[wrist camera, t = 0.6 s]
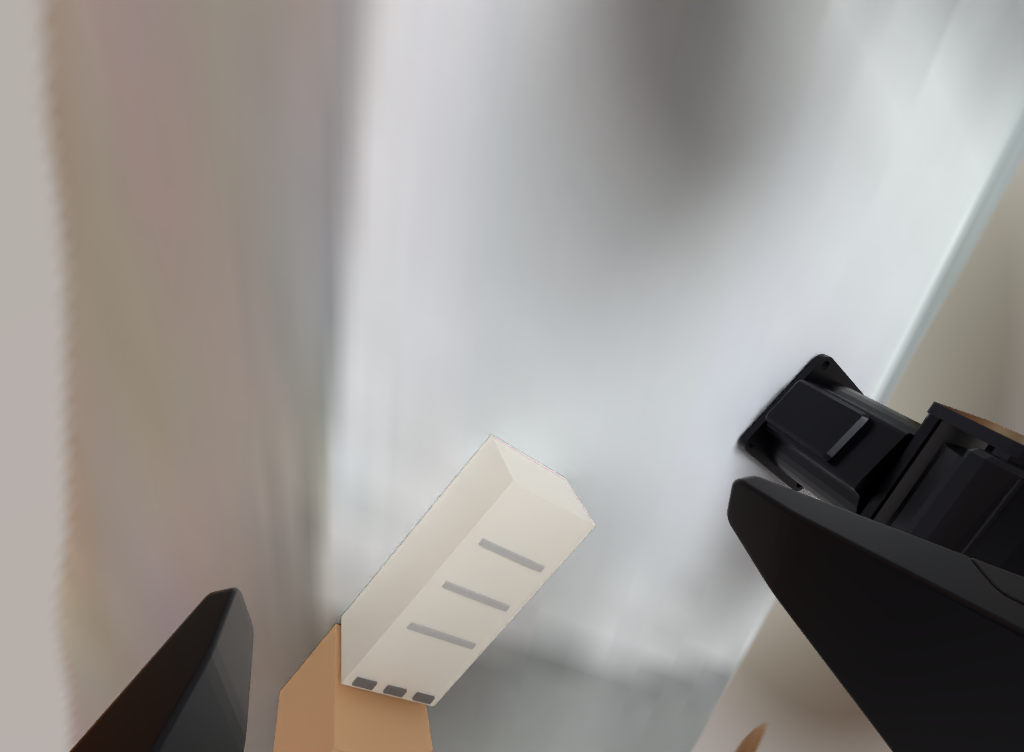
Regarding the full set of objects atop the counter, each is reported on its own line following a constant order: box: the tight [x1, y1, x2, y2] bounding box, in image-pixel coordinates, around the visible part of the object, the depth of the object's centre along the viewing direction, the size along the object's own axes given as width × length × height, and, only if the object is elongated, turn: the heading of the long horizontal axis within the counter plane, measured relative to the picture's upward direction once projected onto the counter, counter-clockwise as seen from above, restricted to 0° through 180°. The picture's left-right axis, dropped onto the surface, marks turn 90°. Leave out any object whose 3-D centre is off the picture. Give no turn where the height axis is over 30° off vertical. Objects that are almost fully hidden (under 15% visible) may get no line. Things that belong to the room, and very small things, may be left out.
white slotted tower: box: [341, 435, 596, 706], centre depth 24 cm, size 5×12×4 cm, turn 139°
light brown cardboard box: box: [273, 624, 433, 752], centre depth 25 cm, size 5×5×6 cm
